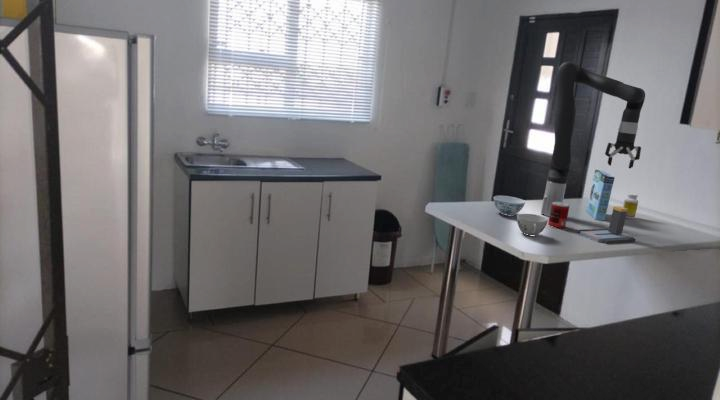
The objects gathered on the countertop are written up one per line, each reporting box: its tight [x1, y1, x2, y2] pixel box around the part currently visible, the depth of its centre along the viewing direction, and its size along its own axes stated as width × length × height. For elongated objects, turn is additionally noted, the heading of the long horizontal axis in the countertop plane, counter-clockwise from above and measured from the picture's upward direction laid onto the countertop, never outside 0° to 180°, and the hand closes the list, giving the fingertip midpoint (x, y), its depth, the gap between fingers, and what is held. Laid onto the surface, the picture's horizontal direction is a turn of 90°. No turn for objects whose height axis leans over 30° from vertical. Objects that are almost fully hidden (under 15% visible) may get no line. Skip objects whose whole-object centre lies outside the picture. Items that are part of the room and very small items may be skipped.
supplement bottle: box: [622, 192, 639, 220], centre depth 275 cm, size 7×7×13 cm
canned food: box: [547, 201, 570, 229], centre depth 242 cm, size 8×8×11 cm
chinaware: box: [493, 195, 526, 216], centre depth 255 cm, size 15×15×8 cm
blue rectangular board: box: [579, 230, 634, 243], centre depth 232 cm, size 22×10×2 cm, turn 114°
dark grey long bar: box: [603, 237, 637, 245], centre depth 226 cm, size 18×1×1 cm, turn 114°
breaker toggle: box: [608, 205, 628, 234], centre depth 233 cm, size 4×4×12 cm
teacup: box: [516, 213, 549, 236], centre depth 222 cm, size 15×12×8 cm
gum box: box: [585, 169, 615, 222], centre depth 270 cm, size 20×5×23 cm, turn 170°
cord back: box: [578, 228, 609, 234], centre depth 239 cm, size 18×1×1 cm, turn 114°
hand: (619, 166), depth 241 cm, fingers open, 8 cm apart
